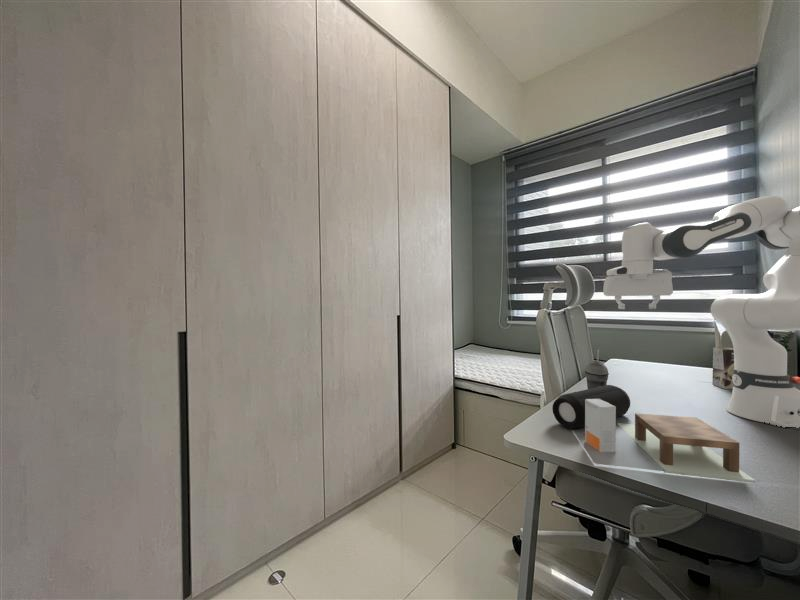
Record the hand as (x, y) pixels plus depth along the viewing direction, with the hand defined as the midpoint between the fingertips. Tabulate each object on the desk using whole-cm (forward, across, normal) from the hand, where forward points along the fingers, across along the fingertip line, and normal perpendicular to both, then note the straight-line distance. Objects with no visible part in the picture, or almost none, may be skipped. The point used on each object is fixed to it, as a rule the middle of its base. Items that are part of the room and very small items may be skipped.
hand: (636, 308), depth 111 cm
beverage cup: (+34, +14, +4) cm, 37 cm away
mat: (+34, +6, +34) cm, 48 cm away
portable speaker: (+34, +20, +20) cm, 45 cm away
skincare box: (+34, +24, +38) cm, 57 cm away
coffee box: (+34, -46, -30) cm, 65 cm away
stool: (+30, +6, +30) cm, 43 cm away
